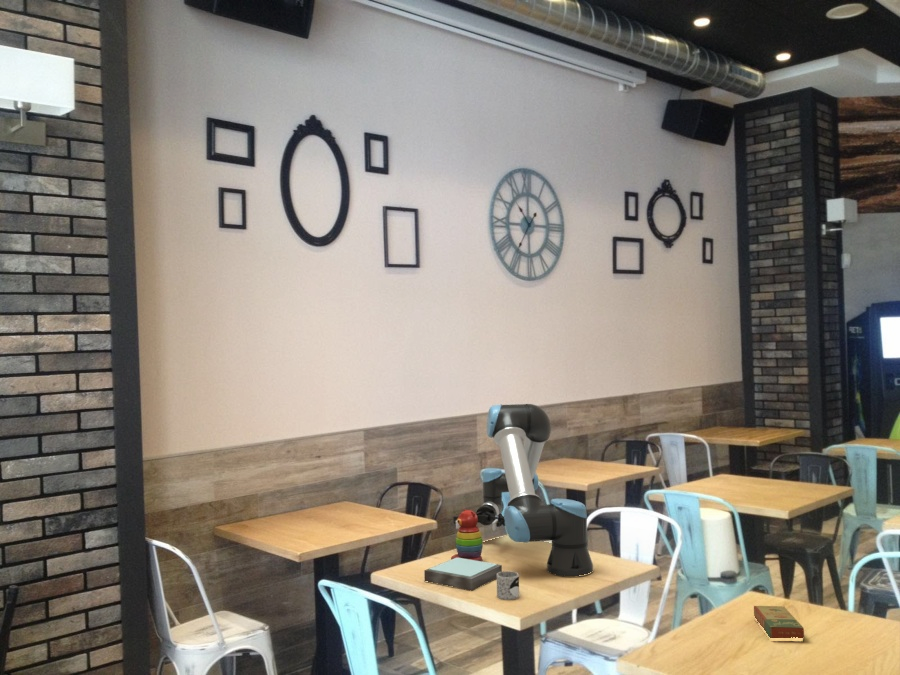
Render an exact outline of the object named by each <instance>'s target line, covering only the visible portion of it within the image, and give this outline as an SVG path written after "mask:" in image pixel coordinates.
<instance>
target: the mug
mask: <svg viewBox="0 0 900 675" xmlns="http://www.w3.org/2000/svg"><path fill="white" fill-rule="evenodd" d="M496 597H497V599H499V600H505V601H513V600H516V599H519V598H520V573H518V572H516V571H511V570H504V571H503V570H502V572H499V573H497V579H496Z"/></svg>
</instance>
